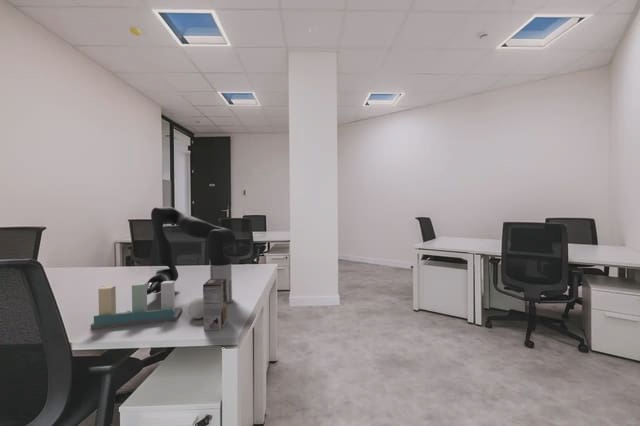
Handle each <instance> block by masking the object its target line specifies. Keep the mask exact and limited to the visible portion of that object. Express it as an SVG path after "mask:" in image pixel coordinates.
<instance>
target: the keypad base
mask: <svg viewBox="0 0 640 426" xmlns="http://www.w3.org/2000/svg"><path fill="white" fill-rule="evenodd" d="M182 312H183V307H175V311H174V312H173V309H168V310H161V308H154V309H147V311H145V312H133V313H132V310H126V311H125V312H116V314H109V315H99V314H98V315H93V323H91V324H90V330H94V329H107V328H116V327H118V328H119V327H127V326H137V325H151V324H159V323H161V324H162V323H169V322H171V323H172V322H177V320H178V319H179V317H180V315H181V314H182Z"/></svg>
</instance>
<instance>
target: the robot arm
mask: <svg viewBox="0 0 640 426" xmlns="http://www.w3.org/2000/svg"><path fill="white" fill-rule="evenodd" d="M150 218H151V219H150V220H151V223H152V230H153V233H154V237H155V240H156V241H155V242H156V247H157V258H158V264H159V265H160V266H166V267H168V268H162V269H158V270H157V271H156V273H155V275H154V276H152V277H150V279H148V281H147V296H148V295H151V294H152V293H153V294H158V293H161V283H162V282H163V281H174V283H175V282H177V280H178V279H179V273H178V270H177V267H176V264H175V259H174V249H173V246H172V243H171V241H169V239H168V237H167V236H166V234H165V232H164V226H165V225H176V226H178V229H179V231H180V232H182V233H183V234H185V235H187V236H189V237H191V238H192V237H193V238H197V239H203V240H206V242H207V244H206V245H207V256H208V260H209V263H210V264H209V266H210V267H209V269H210V270H209V272H210V273H209V275H210V278H209V279H226V286H227V304H229V303H233V279H232V278H233V277H232V257H231V256H228V255H226V254H225V252H224V251H225V250H226V249H229V248H231V247H233V246H234V245H235V244H236V234H235V233H234V232H233V230H231V229H229V228H226V227H221V226H217V225H214V224H212V223H210V222H207V221H205V220H202V219H200V218H198V217H195V216H192V215H189V214H186V213H185V212H184V213H183V212H181V211H180V210H178V209H176V207H175V208H174V207H172V206H158V207H157V206H156V207H154V208H152V210H151V213H150ZM224 249H225V250H224Z"/></svg>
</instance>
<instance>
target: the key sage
mask: <svg viewBox="0 0 640 426" xmlns="http://www.w3.org/2000/svg"><path fill="white" fill-rule="evenodd" d="M147 282H148V281H147ZM147 282H146V281H145V282H135V283H134V284H132V285H131V306H132V308H131V309H132V310H131V312H132V313H133V312H145V311H147V310H148V295H147Z"/></svg>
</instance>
